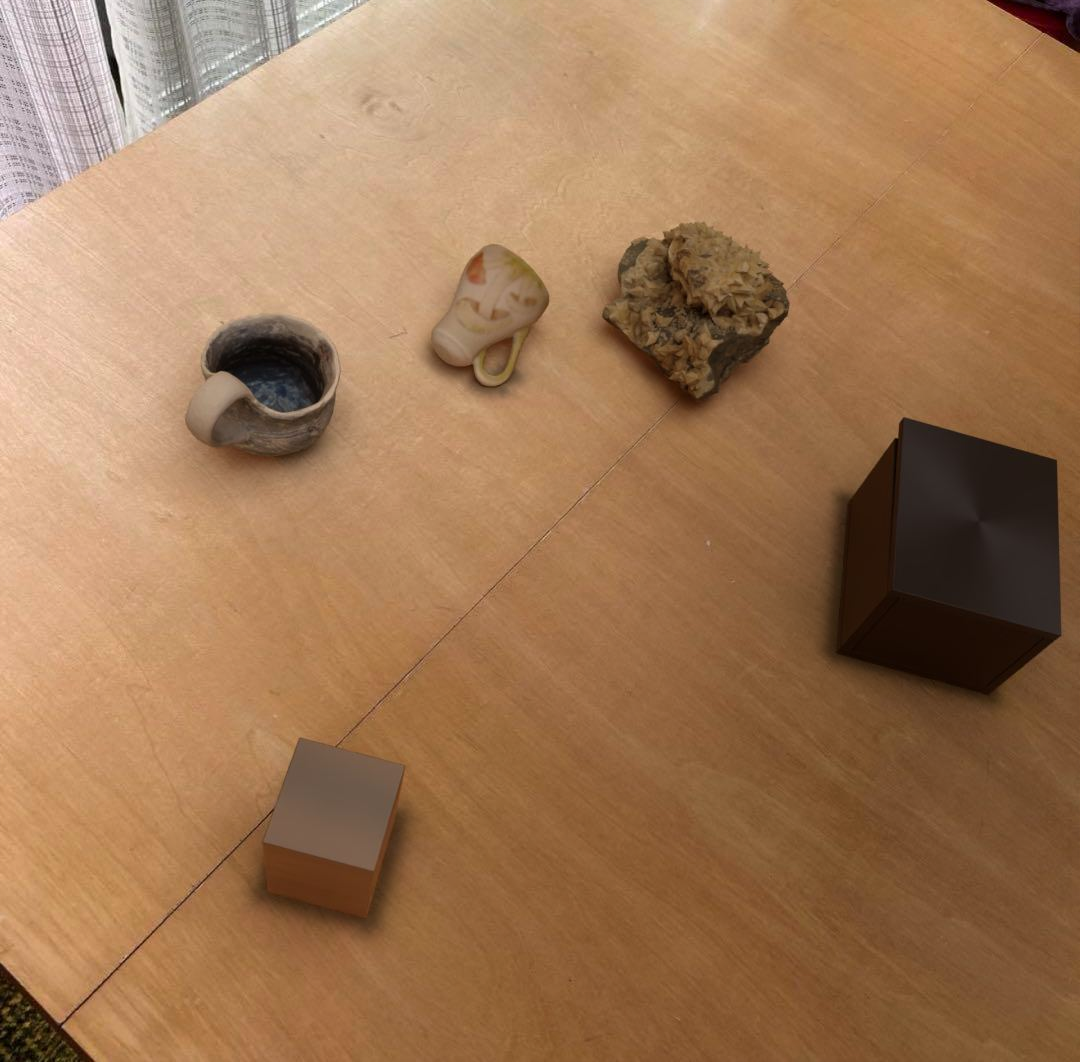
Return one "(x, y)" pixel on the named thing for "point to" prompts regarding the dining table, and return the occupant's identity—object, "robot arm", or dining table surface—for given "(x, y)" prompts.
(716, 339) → the mineral specimen
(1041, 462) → the lid
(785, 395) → the dining table surface
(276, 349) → the mug
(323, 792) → the stand
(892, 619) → the box
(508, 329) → the mug
